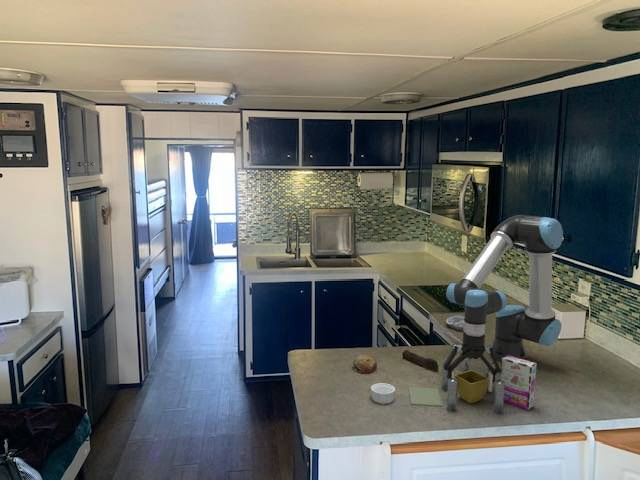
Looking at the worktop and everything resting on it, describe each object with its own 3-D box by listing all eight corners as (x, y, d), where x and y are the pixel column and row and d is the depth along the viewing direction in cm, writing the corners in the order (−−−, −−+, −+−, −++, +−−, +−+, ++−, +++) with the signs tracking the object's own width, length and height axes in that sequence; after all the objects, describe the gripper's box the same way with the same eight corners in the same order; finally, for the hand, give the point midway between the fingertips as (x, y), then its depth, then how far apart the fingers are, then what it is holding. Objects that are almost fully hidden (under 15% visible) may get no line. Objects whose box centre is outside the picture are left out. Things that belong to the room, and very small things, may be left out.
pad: (437, 389, 195) (437, 388, 195) (442, 406, 182) (442, 405, 182) (408, 388, 196) (408, 387, 196) (411, 404, 183) (411, 403, 183)
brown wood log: (401, 359, 224) (401, 349, 224) (408, 357, 227) (408, 347, 226) (433, 374, 209) (433, 364, 208) (440, 372, 211) (440, 361, 210)
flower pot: (469, 407, 181) (471, 383, 180) (452, 397, 189) (454, 374, 187) (488, 402, 185) (489, 378, 184) (470, 392, 193) (472, 369, 191)
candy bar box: (534, 406, 182) (537, 362, 180) (528, 411, 179) (531, 367, 176) (504, 395, 190) (507, 354, 187) (498, 400, 187) (501, 357, 184)
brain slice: (436, 325, 269) (437, 319, 268) (459, 319, 278) (459, 314, 278) (465, 336, 253) (466, 330, 252) (488, 330, 262) (488, 324, 261)
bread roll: (350, 375, 215) (345, 362, 212) (364, 359, 221) (359, 345, 218) (369, 383, 209) (364, 368, 205) (383, 366, 215) (378, 352, 211)
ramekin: (369, 393, 192) (370, 382, 191) (393, 393, 192) (393, 383, 191) (371, 404, 183) (371, 393, 182) (396, 405, 183) (396, 393, 182)
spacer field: (488, 384, 200) (490, 357, 198) (503, 414, 177) (505, 384, 175) (439, 381, 201) (440, 355, 200) (447, 411, 179) (448, 381, 177)
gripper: (440, 335, 180) (437, 391, 184) (512, 338, 178) (508, 395, 181) (437, 328, 188) (434, 382, 191) (507, 331, 185) (503, 386, 189)
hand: (470, 388), depth 186 cm, fingers open, 13 cm apart
